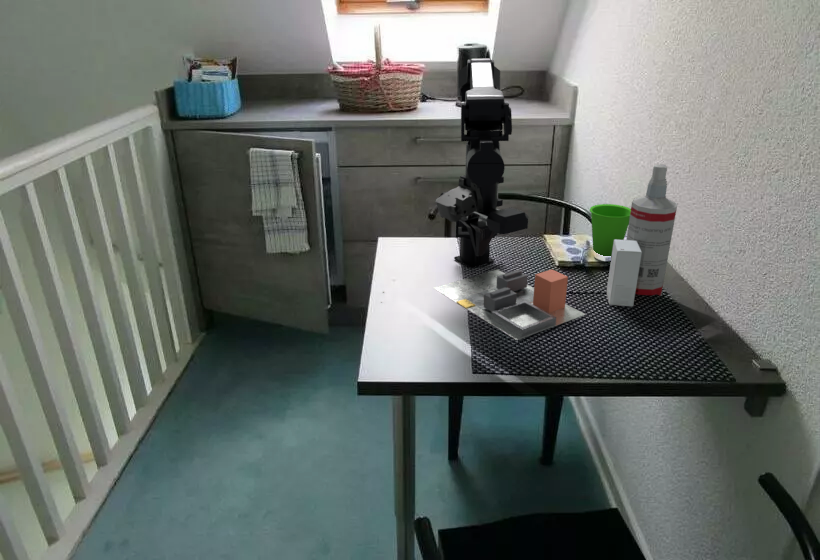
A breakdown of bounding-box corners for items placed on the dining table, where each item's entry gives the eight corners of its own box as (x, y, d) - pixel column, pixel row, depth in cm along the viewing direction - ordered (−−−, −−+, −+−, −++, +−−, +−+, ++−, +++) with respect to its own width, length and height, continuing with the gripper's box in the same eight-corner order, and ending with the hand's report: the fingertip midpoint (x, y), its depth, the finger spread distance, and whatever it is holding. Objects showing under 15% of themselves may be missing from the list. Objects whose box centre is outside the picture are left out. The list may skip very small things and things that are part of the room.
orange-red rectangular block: (532, 304, 108) (535, 274, 106) (549, 298, 110) (551, 269, 108) (548, 313, 105) (551, 282, 103) (564, 307, 107) (568, 276, 105)
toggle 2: (483, 306, 107) (484, 291, 106) (504, 299, 109) (505, 284, 108) (494, 313, 105) (494, 297, 103) (515, 306, 107) (516, 290, 106)
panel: (433, 295, 116) (433, 281, 115) (496, 276, 124) (497, 262, 122) (516, 348, 97) (517, 332, 96) (584, 321, 105) (586, 306, 104)
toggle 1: (496, 288, 114) (497, 273, 113) (516, 281, 116) (517, 267, 115) (506, 293, 112) (507, 278, 110) (526, 287, 114) (527, 272, 113)
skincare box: (632, 313, 108) (642, 252, 103) (608, 311, 108) (616, 250, 103) (628, 299, 113) (637, 239, 108) (605, 297, 114) (613, 238, 109)
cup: (586, 264, 128) (592, 216, 124) (582, 249, 136) (587, 203, 132) (630, 267, 127) (637, 217, 122) (623, 251, 135) (630, 204, 130)
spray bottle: (657, 305, 110) (681, 172, 100) (616, 297, 113) (634, 168, 103) (663, 289, 117) (685, 162, 106) (623, 282, 120) (641, 158, 109)
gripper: (413, 166, 105) (414, 249, 112) (479, 190, 91) (476, 283, 97) (463, 158, 111) (462, 237, 117) (533, 179, 96) (527, 268, 102)
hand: (479, 255), depth 108 cm, fingers closed
